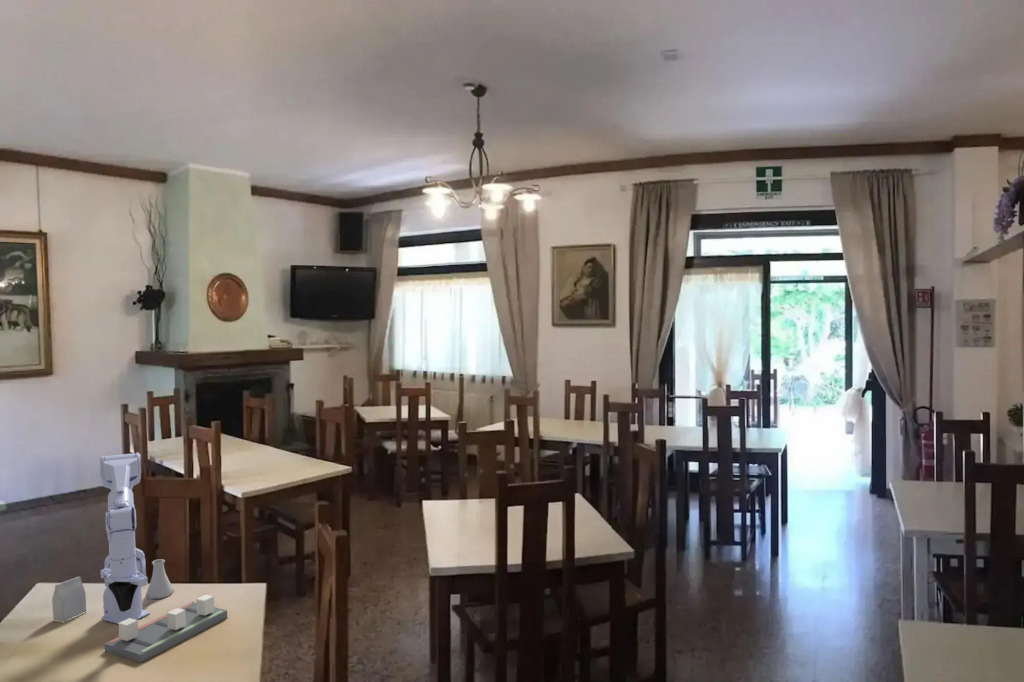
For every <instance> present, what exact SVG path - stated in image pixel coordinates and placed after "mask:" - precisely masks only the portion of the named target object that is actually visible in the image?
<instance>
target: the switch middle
mask: <svg viewBox="0 0 1024 682" xmlns="http://www.w3.org/2000/svg"><path fill="white" fill-rule="evenodd" d="M166 614H167V622H168V628H170V629H173V630H177V629H179V628H181V627H183V626H185V625H186V613H185V610H183V609H179V608H178V607H176V608H174V609H172V610H169V611H167V613H166Z"/></svg>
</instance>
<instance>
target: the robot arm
mask: <svg viewBox="0 0 1024 682" xmlns="http://www.w3.org/2000/svg"><path fill="white" fill-rule="evenodd" d="M141 460H142V459H141V453H139V452H136V453H134V452H133V453H124V454H122V453H121V454H116V455H115V454H113V455H102V456H100V457H99V473H100V475H99V476H100V479H101V484H102V485H103V488H106V489H110V492H109V493H108V495H107V511H106V512H105V530H106V534H107V541H108V552H109V554H108V555H107V556H106V557H105V560H104V567H103V569H100V578H101V579H104V586H105V587H106V588H105V589H104V591H103V595H102V598H103V599H102V600H103V601H102V602H103V616H101V617H100V619H101V620H102V621H106V622H110V623H114V624H118V623H120V622H122V621H124V620H126V619H128V618H131V619H135V620H139V619H141V618H144V617H147V616H148V615H150V614H151V613H150V612H151V611H148V610H145V609H143V597H142V596H143V595H142V594H143V593H142V592H143V591H142V588H143V587H145V586H149V585H148V579H149V578H148V576H147V569H146V556H145V553H144V551H143V550H141V549H139V548H138V547H136V529H137V511H136V508H135V503H134V502H135V499H134V492H133V489H134V486H136V485H138V484H139V483H141V479H142V463H141ZM133 526H134V527H133Z"/></svg>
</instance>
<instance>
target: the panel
mask: <svg viewBox="0 0 1024 682" xmlns="http://www.w3.org/2000/svg"><path fill="white" fill-rule="evenodd" d="M179 609H183V610H185V613H186V625H185V626H183V627H181V628H179V629H177V630H173V629H170V628H168V622H167V613H166V614H164V615H162V616H160V617H158V618H156V619H154V620H152V621H149V622H148V623H145V624H143V625H140V626H138V636H137V637H135V638H133V639H131V640H129V641H125V640H122V639H119V636H118V637H116V638H113V639H111V640H110V641H107V642H105V643H104V652H105V653H108V652H109V654H111V653H112V654H111V655H114V654H115V656H117V655H118V656H117V657H121V658H125V659H127V658H128V660H130V659H131V660H132V661H133V662H138V663H140V662H142V663H144V662H145V660H146V661H147V659H148V658H149V659H151V658H153V657H155V656H157V655H159V654H161V653H163V652H164V650H165V651H166V649H167V650H169V649H170V648H172V647H174V646H176V645H177V644H180V643H182V642H184V641H185V639H186V640H188V639H189V638H191V637H194V636H195V635H197V634H199V633H201V632H203V631H204V629H205V630H206V629H208V627H209V628H210V627H212V626H215V625H216V624H218V623H220V622H222V621H224V620H226V619H228V610H226V609H223V608H219V607H215V606H214V611H213V612H211V613H209V614H207V615H201V614H197V603H196V601H195V602H194V601H192V602H189V603H188V604H186V605H184V606H182V607H180V608H179ZM225 618H226V619H225ZM183 640H184V641H183ZM162 651H163V652H162ZM160 652H161V653H160ZM158 653H159V654H158ZM156 654H157V655H156ZM154 655H155V656H154ZM152 656H153V657H152ZM150 657H151V658H150ZM149 659H148V660H149ZM131 660H130V661H131ZM143 661H144V662H143Z"/></svg>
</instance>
